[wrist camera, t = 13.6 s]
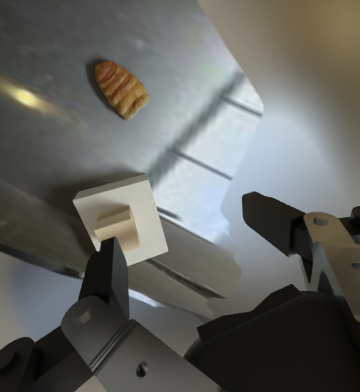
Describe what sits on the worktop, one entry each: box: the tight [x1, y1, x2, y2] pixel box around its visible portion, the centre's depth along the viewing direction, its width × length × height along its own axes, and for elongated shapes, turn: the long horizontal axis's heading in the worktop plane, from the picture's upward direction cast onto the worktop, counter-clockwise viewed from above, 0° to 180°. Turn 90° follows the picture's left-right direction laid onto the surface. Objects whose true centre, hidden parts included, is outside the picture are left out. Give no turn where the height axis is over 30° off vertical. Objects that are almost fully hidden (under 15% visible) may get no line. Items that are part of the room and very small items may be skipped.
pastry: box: [95, 61, 149, 120], centre depth 32 cm, size 9×7×4 cm
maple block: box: [94, 205, 141, 253], centre depth 34 cm, size 6×6×6 cm
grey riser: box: [73, 174, 168, 266], centre depth 40 cm, size 18×14×5 cm
